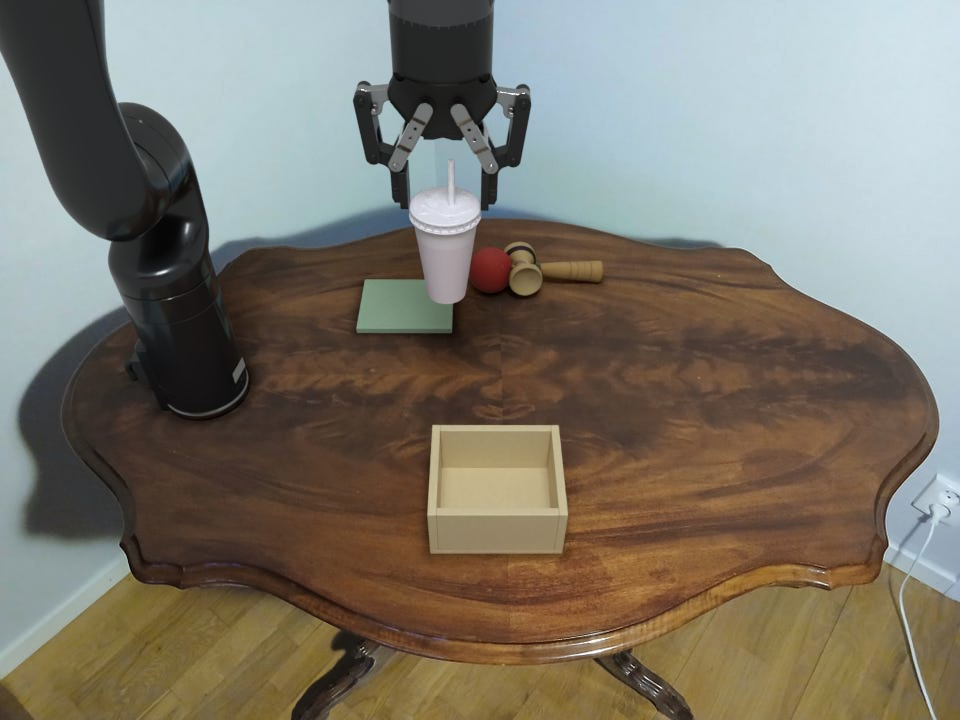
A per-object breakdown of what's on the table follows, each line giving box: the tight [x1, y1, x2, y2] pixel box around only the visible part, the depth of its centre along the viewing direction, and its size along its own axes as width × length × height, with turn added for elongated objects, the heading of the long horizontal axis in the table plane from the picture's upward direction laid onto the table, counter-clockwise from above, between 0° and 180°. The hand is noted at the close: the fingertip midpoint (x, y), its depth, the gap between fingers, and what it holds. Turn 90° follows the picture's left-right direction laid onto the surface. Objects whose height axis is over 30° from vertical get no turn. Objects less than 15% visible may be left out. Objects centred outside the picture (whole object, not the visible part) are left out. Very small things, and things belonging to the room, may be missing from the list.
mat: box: [356, 278, 454, 334], centre depth 95 cm, size 12×10×1 cm
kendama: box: [468, 241, 604, 297], centre depth 97 cm, size 8×6×18 cm
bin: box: [426, 424, 569, 555], centre depth 71 cm, size 13×11×6 cm
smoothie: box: [408, 158, 483, 304], centre depth 65 cm, size 6×6×14 cm
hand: (444, 204), depth 63 cm, fingers closed on smoothie, 6 cm apart
